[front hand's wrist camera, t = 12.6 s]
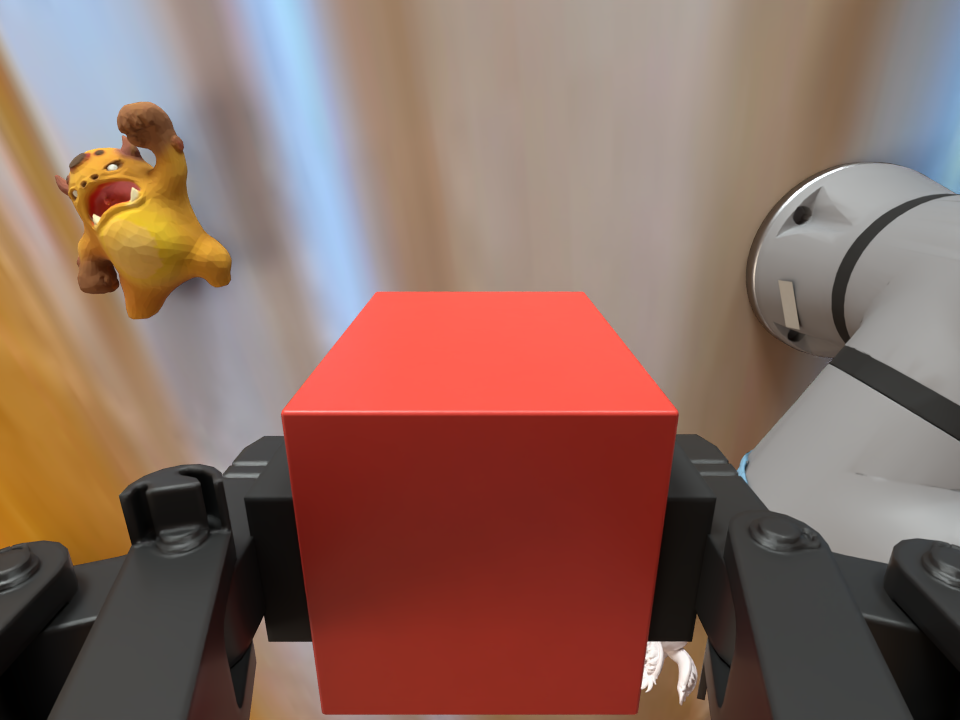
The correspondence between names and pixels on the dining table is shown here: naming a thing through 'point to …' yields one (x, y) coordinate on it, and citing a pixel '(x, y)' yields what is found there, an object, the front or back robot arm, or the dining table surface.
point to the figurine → (655, 662)
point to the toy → (140, 216)
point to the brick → (479, 507)
